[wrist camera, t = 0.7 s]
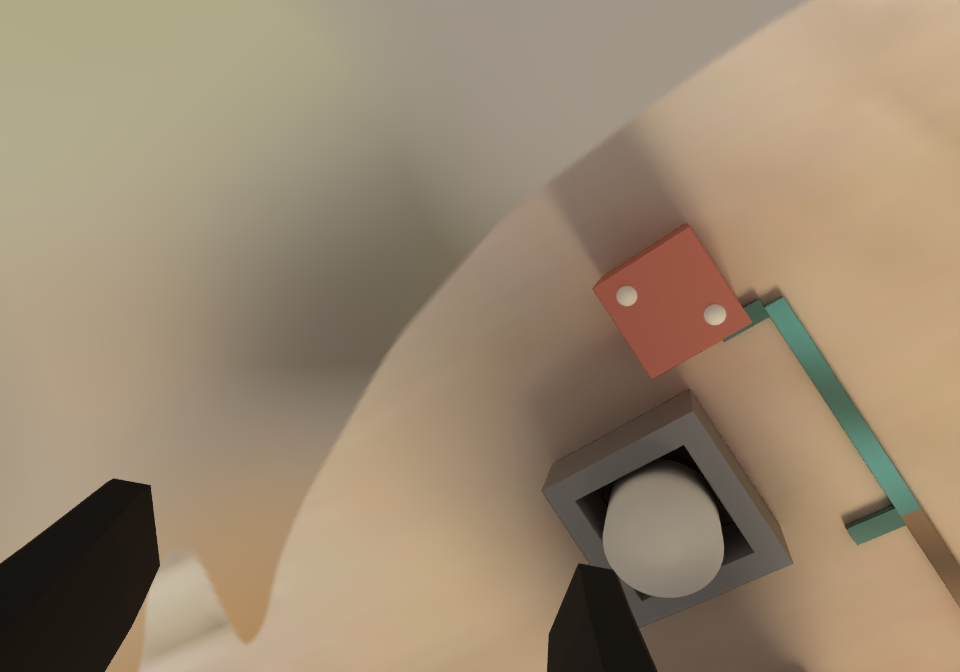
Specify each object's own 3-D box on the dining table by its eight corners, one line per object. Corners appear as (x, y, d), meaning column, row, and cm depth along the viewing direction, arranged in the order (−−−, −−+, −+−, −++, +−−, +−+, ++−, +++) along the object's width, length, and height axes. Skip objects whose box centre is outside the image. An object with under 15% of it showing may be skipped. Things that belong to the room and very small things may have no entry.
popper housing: (780, 525, 28) (793, 563, 25) (636, 589, 30) (633, 630, 27) (690, 388, 27) (693, 410, 25) (553, 463, 30) (541, 491, 27)
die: (740, 305, 26) (753, 323, 22) (653, 354, 28) (651, 380, 24) (686, 222, 26) (690, 226, 22) (602, 276, 28) (591, 289, 24)
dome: (739, 530, 27) (748, 574, 23) (645, 572, 28) (642, 619, 25) (680, 441, 26) (682, 473, 23) (589, 488, 28) (579, 524, 25)
